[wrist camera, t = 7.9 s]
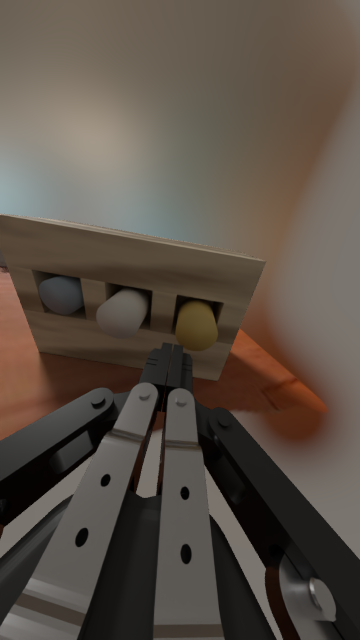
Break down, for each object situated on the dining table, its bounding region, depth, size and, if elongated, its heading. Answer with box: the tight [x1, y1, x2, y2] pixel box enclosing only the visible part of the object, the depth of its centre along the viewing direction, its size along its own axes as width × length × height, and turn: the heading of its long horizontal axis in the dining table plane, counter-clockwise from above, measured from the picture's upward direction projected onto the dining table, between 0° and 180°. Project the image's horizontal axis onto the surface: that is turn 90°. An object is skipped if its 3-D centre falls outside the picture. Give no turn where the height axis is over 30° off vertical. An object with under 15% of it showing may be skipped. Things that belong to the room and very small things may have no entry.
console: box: [0, 214, 266, 381], centre depth 22 cm, size 10×25×16 cm, turn 86°
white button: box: [96, 286, 151, 339], centre depth 17 cm, size 5×4×4 cm
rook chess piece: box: [0, 249, 7, 267], centre depth 47 cm, size 4×4×8 cm
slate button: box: [39, 275, 84, 315], centre depth 19 cm, size 5×4×4 cm
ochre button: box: [175, 297, 218, 351], centre depth 17 cm, size 5×4×4 cm
